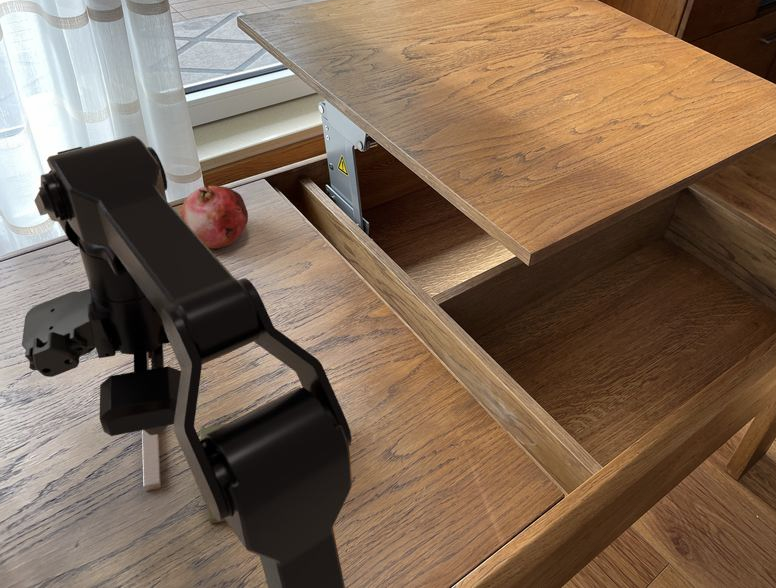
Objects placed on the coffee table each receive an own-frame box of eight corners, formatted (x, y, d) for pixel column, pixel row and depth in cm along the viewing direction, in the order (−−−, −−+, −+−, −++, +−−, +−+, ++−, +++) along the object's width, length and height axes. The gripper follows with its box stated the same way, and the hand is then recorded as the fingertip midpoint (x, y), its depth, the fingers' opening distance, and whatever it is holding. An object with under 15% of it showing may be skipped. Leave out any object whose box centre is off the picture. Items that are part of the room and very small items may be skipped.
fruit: (247, 214, 110) (243, 161, 104) (251, 256, 103) (247, 201, 97) (184, 218, 107) (176, 164, 101) (183, 261, 101) (174, 205, 94)
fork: (163, 482, 75) (158, 386, 83) (140, 487, 74) (137, 390, 83) (164, 487, 75) (159, 391, 84) (141, 492, 75) (139, 395, 83)
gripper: (26, 216, 62) (65, 335, 72) (2, 385, 50) (54, 500, 60) (163, 203, 66) (182, 317, 76) (174, 357, 53) (195, 470, 63)
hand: (154, 393), depth 69 cm, fingers open, 9 cm apart
